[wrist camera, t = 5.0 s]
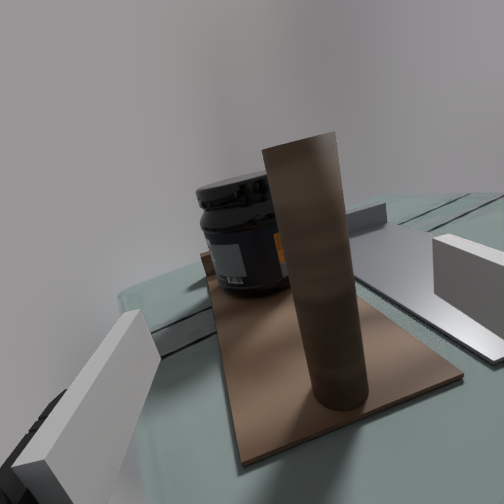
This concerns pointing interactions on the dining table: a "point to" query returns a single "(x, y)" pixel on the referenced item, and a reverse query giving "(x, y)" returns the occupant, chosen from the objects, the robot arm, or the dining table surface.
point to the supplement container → (243, 236)
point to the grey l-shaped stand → (411, 277)
